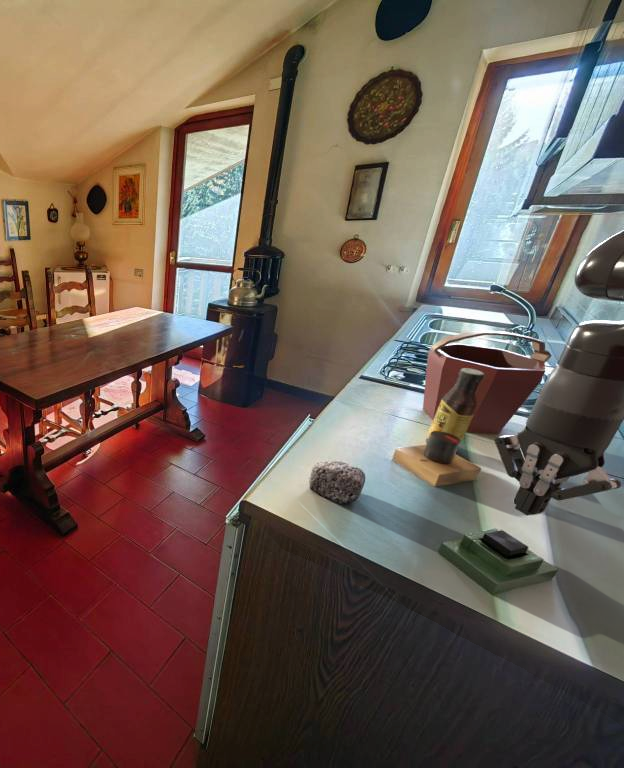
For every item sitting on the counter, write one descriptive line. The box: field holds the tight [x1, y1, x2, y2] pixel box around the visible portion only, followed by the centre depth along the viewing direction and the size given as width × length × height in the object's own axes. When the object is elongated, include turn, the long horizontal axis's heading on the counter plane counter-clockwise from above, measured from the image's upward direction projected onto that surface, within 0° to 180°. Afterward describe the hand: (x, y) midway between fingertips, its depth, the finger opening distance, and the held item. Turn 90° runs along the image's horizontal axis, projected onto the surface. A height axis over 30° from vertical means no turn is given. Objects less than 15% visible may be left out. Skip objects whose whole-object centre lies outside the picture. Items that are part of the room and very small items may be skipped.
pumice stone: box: [308, 460, 366, 505], centre depth 75 cm, size 10×8×10 cm
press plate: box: [481, 529, 530, 559], centre depth 59 cm, size 4×4×2 cm
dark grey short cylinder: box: [423, 431, 462, 464], centre depth 83 cm, size 5×5×6 cm
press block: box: [437, 528, 559, 596], centre depth 60 cm, size 12×8×4 cm, turn 103°
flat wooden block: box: [391, 444, 482, 487], centre depth 84 cm, size 11×10×3 cm
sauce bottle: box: [425, 368, 484, 448], centre depth 90 cm, size 6×6×20 cm
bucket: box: [422, 329, 552, 435], centre depth 102 cm, size 24×22×25 cm
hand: (525, 511), depth 56 cm, fingers closed
